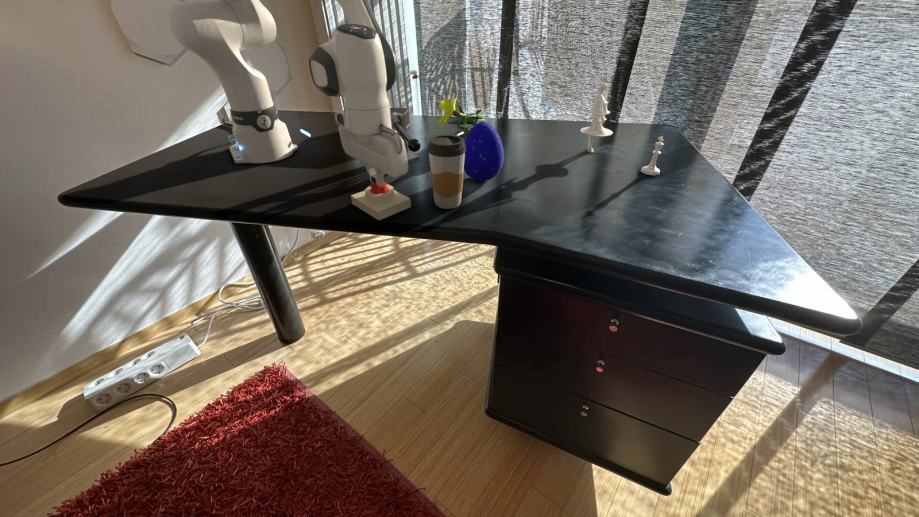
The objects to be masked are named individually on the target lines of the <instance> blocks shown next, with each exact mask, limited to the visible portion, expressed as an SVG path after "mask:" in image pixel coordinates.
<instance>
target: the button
mask: <svg viewBox="0 0 919 517" xmlns="http://www.w3.org/2000/svg"><path fill="white" fill-rule="evenodd" d="M387 185H388V183H387V182H385V181H384V184H383V185H381V186H378V185H376V184H374V183H372V182H370V186H371V192H372V193H373V194H383V193H386V192H387Z"/></svg>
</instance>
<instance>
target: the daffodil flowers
mask: <svg viewBox="0 0 919 517" xmlns="http://www.w3.org/2000/svg"><path fill="white" fill-rule="evenodd" d="M459 88H460V87H459V86H458V87H457V89H459ZM456 94H457V95H458V94H459V93H458V92H457V93H456ZM457 98H458V97H457V96H456V97H455V99H454V98H451V99H450V100H449V99H447V98H446V97H444V98H443V100H441V102H440V103H439V107H438V110H439V111H443V112H445V113H444V115H442V116H441V117H440V118H438V119H437V121H436V122H435V124H440V125H439V126H438V128H437V130H439V129H441V128H442V127H443V126H444V125H445V124H446V123H447V124H449V125H456V126H457V128H458V129H459V131H456V132H455V133H454V134H453V135H456V136H459V137H461V136H462V135H463V136H464V140H465V139H466V137H467V135H468V133H469V132H470V130H471V129H472V128H473V127H474V126H475V125H476V124H477V123H479V122H483V121H484V122H486V121H485V116H484V113H483V112H482V110H483V109H477V110H475V112H468V113H465V112H464V110H463V109H462V107H461V105H460V104H459V103H457V107H458V109H459V111H458V110H457V109H456V102H457ZM452 116H453V117H456V118H459V119H456V120H453V121H448V119H449V118H451V117H452ZM447 121H448V122H447ZM488 123H489V124H490V122H488ZM462 125H463V126H462Z"/></svg>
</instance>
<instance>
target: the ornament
mask: <svg viewBox="0 0 919 517" xmlns="http://www.w3.org/2000/svg"><path fill="white" fill-rule="evenodd" d="M472 127H473V128H472ZM472 127H471V128H472V129H471V130H470V132H469V133H468V135H467V137H466V139H465V138H464V143H465V145H466V146H465V148H466V152H465V158H464V173H466V175H467V176H468V177H469V178H470V179H472V180H474V181H477V182H486V181H489V180H492V179H494V177H496V176H497V175H498V173H499V172H500V171H501V170H502V167H503V166H504V162H505V157H506V156H505V148H504V146H503V141H502V139H501V136H500V134H499V132H498V131H497V130H496V128H495V127H494V126H493V125H492V124H490V123H489V122H487V121H485V122H484V121H483V122H477V124H476V125H475V126H472Z"/></svg>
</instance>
